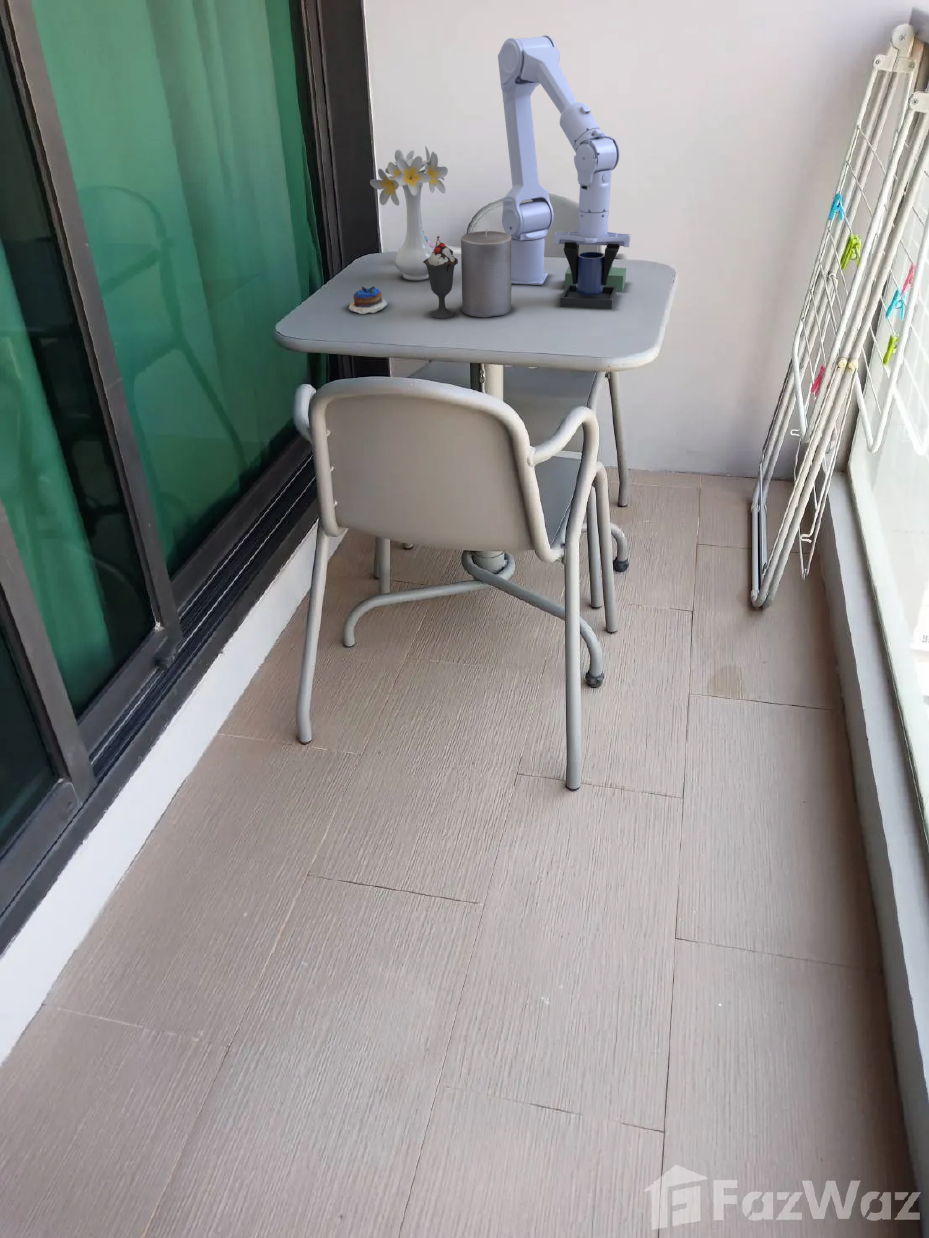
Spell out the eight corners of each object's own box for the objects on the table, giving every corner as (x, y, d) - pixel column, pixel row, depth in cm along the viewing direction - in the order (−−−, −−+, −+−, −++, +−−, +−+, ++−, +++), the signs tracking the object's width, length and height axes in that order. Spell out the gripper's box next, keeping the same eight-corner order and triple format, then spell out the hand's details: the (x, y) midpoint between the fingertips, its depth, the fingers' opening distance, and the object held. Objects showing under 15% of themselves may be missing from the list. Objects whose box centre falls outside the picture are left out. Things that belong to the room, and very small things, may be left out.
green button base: (564, 289, 188) (565, 264, 185) (568, 280, 193) (569, 256, 190) (622, 292, 185) (624, 267, 182) (625, 283, 190) (627, 258, 187)
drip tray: (559, 307, 178) (560, 297, 177) (566, 293, 186) (567, 284, 184) (611, 309, 176) (612, 300, 175) (616, 295, 183) (617, 286, 182)
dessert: (370, 295, 185) (377, 274, 180) (389, 319, 184) (396, 299, 179) (339, 307, 181) (345, 286, 176) (358, 331, 180) (365, 311, 175)
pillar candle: (475, 300, 183) (473, 222, 174) (519, 306, 179) (520, 226, 171) (453, 314, 176) (451, 233, 167) (499, 320, 172) (499, 237, 164)
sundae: (434, 322, 173) (431, 239, 164) (419, 312, 177) (415, 232, 169) (465, 316, 175) (463, 234, 166) (449, 307, 180) (447, 227, 171)
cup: (574, 295, 178) (576, 258, 174) (578, 287, 182) (579, 251, 178) (601, 296, 177) (603, 259, 173) (604, 288, 181) (606, 252, 177)
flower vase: (371, 286, 193) (360, 157, 178) (410, 264, 206) (403, 142, 192) (425, 292, 188) (418, 160, 174) (461, 269, 202) (458, 145, 187)
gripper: (552, 213, 169) (550, 287, 177) (630, 215, 166) (624, 290, 174) (558, 205, 175) (555, 277, 183) (633, 207, 172) (627, 280, 180)
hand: (589, 283), depth 179 cm, fingers closed on cup, 5 cm apart
